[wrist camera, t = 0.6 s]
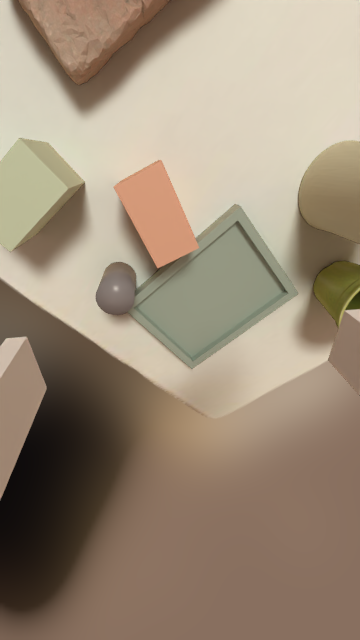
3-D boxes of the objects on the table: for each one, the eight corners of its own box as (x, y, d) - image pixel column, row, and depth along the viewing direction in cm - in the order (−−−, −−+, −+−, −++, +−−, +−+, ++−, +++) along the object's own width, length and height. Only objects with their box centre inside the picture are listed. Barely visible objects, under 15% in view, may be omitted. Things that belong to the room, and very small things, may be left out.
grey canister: (96, 276, 34) (87, 297, 29) (119, 255, 33) (114, 273, 27) (120, 297, 35) (116, 321, 30) (142, 278, 34) (142, 299, 29)
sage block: (-1, 200, 29) (-40, 212, 23) (48, 142, 26) (19, 137, 20) (37, 233, 31) (10, 252, 25) (85, 182, 28) (68, 188, 22)
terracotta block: (155, 248, 33) (157, 268, 27) (120, 181, 29) (113, 186, 23) (189, 231, 32) (199, 247, 26) (158, 160, 28) (161, 160, 22)
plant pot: (381, 252, 36) (442, 277, 29) (348, 314, 41) (393, 349, 33) (318, 243, 34) (365, 266, 27) (291, 308, 39) (325, 344, 32)
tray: (123, 300, 36) (122, 307, 34) (235, 203, 31) (240, 206, 29) (190, 360, 42) (191, 369, 40) (291, 287, 37) (298, 293, 35)
